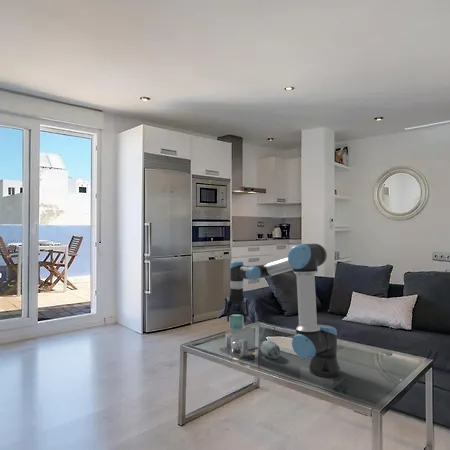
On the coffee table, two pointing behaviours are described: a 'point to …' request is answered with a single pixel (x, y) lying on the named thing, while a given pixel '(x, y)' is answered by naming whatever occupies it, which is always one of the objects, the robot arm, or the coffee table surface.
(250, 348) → the pad
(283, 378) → the coffee table surface
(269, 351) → the grey green ovoid
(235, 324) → the cap
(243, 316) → the robot arm
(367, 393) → the coffee table surface
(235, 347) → the grey metal fixture
